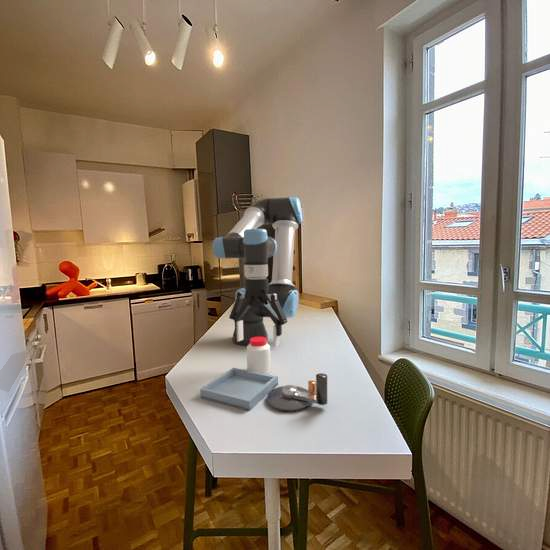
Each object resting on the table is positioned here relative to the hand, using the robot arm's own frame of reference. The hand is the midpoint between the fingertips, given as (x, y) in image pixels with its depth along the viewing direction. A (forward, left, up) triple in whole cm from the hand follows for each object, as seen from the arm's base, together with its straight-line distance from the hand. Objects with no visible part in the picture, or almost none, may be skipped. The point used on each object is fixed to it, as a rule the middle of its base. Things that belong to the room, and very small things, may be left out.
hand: (257, 343), depth 102 cm
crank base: (+17, -13, -10) cm, 23 cm away
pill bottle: (0, 0, -10) cm, 10 cm away
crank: (+21, -13, -8) cm, 26 cm away
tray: (+2, -14, -10) cm, 17 cm away
